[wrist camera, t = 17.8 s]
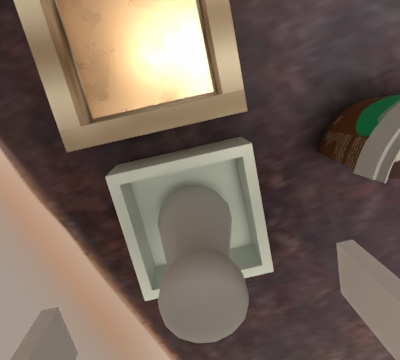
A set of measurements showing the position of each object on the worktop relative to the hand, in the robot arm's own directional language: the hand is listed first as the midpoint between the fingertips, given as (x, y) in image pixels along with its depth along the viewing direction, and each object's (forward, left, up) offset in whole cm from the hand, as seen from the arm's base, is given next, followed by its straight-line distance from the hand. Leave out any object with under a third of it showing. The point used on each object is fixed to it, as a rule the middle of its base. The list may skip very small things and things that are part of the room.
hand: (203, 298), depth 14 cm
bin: (0, 0, -13) cm, 13 cm away
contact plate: (-14, -1, -12) cm, 18 cm away
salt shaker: (0, 0, -12) cm, 12 cm away
